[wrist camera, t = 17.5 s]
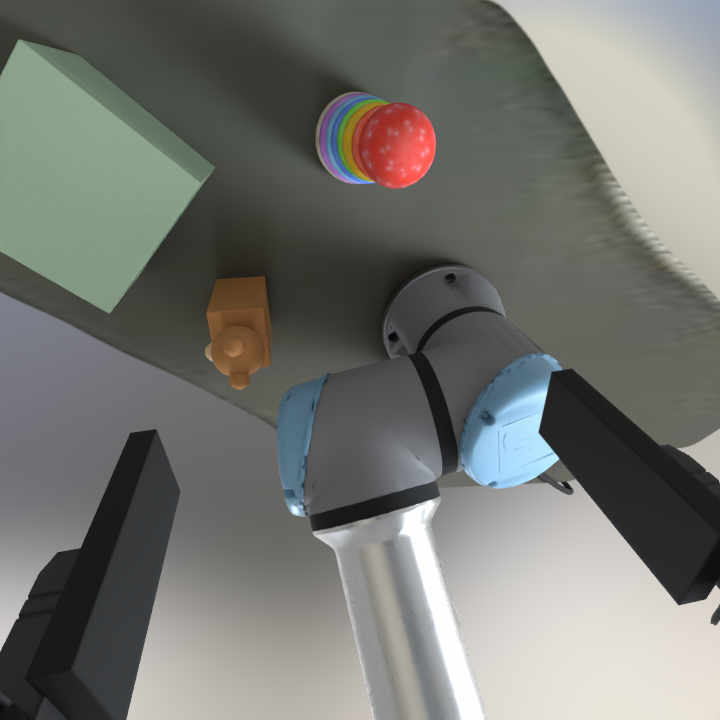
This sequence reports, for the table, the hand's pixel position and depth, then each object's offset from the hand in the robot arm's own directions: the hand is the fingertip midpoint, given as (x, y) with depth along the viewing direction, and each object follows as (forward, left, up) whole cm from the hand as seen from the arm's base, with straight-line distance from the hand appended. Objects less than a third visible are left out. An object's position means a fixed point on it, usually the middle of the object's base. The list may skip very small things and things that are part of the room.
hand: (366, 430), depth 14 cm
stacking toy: (0, -9, -36) cm, 37 cm away
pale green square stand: (+15, +9, -36) cm, 40 cm away
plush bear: (-2, +12, -36) cm, 38 cm away
